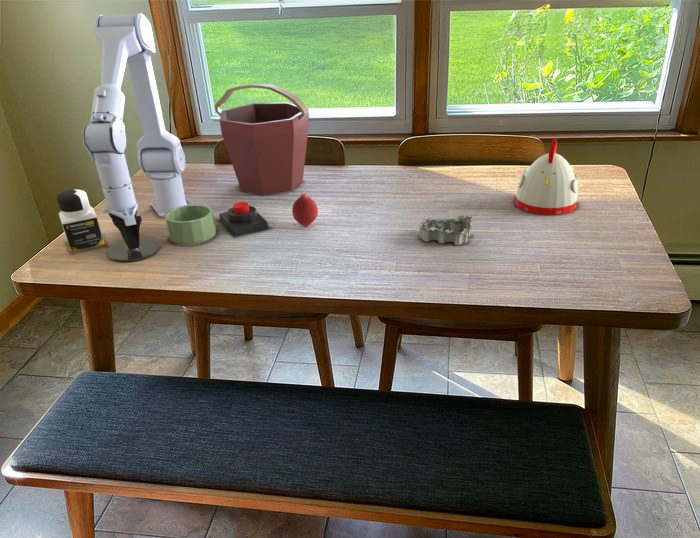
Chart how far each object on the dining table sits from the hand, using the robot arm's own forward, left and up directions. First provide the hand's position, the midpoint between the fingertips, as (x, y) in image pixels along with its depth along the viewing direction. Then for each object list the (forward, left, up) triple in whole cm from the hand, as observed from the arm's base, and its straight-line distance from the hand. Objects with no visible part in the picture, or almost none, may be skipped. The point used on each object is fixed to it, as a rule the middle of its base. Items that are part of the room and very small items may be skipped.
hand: (132, 245), depth 132 cm
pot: (-2, +13, -2) cm, 14 cm away
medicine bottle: (-11, -9, -2) cm, 14 cm away
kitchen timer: (+26, +91, -2) cm, 95 cm away
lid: (0, 0, -1) cm, 1 cm away
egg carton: (+29, +60, -2) cm, 67 cm away
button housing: (-2, +25, -2) cm, 26 cm away
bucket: (-25, +41, -2) cm, 48 cm away
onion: (+7, +37, -2) cm, 38 cm away
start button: (-2, +26, +1) cm, 26 cm away
